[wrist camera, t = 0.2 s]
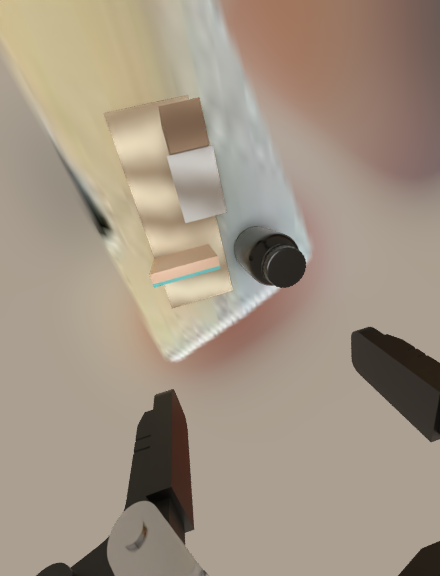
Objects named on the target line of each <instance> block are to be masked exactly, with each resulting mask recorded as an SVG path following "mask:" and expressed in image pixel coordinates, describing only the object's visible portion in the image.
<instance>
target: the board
mask: <svg viewBox="0 0 440 576" xmlns="http://www.w3.org/2000/svg"><path fill="white" fill-rule="evenodd" d="M185 100H189V98H188V95H185V96H181V97H176V98H171V99H167V100H162V101H158V102H153V103H148V104H144V105H139V106H134V107H130V108H125V109H121V110H116V111H111V112H107V113H104V116H105V118H106V121H107V124H108V127H109V130H110V133H111V136H112V138H113V141H114V144H115V147H116V150H117V153H118V156H119V158H120V161H121V164H122V167H123V170H124V173H125V176H126V178H127V181H128V184H129V187H130V190H131V193H132V196H133V198H134V201H135V204H136V207H137V210H138V213H139V216H140V218H141V221H142V224H143V227H144V230H145V233H146V236H147V238H148V241H149V244H150V247H151V250H152V253H153V256H154V258H157V257H161V256H165V255H169V254H172V253H176V252H180V251H183V250H187V249H191V248H194V247H198V246H202V245H205V244H209V245H210V247H211V248H212V249H213V251H214V252H215V253H216V254H217V256H218V260H219V264H220V268H221V269H218V270H215V271H211V272H207V273H204V274H200V275H197V276H193V277H190V278H186V279H183V280H179V281H176V282H172V283H169V284H165V285H164V287H165V290H166V293H167V296H168V298H169V301H170V304H171V307H172V308H175V307H179V306H182V305H185V304H189V303H192V302H196V301H199V300H203V299H206V298H209V297H213V296H216V295H220V294H223V293H226V292H230V291H233V289H232V284H231V280H230V276H229V271H228V267H227V263H226V258H225V254H224V250H223V245H222V241H221V237H220V232H219V228H218V224H217V219H216V215H215V216H211V217H208V218H204V219H200V220H196V221H192V222H189V223H185V220H184V217H183V213H182V210H181V206H180V203H179V199H178V195H177V192H176V188H175V185H174V181H173V178H172V174H171V171H170V167H169V163H168V160H167V156H170V155H169V152H168V148H167V144H166V141H165V137H164V134H163V130H162V126H161V120H160V114H159V107H158V106H162V105H167V104H172V103H176V102H181V101H185Z"/></svg>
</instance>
